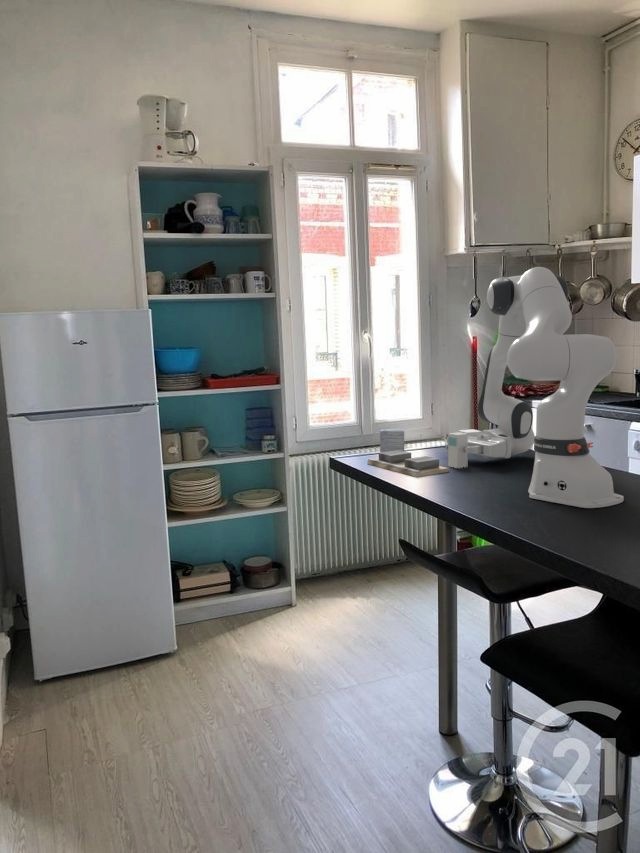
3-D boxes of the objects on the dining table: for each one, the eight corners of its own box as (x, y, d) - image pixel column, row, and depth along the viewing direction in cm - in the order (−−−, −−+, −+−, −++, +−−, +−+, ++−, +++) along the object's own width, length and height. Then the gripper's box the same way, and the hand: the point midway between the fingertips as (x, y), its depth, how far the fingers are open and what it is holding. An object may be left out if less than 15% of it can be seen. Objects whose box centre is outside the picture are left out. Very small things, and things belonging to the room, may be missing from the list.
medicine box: (404, 454, 230) (404, 428, 229) (404, 457, 226) (404, 430, 224) (380, 454, 231) (380, 429, 229) (380, 457, 226) (379, 431, 225)
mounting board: (448, 471, 201) (448, 459, 201) (416, 476, 195) (416, 464, 195) (398, 459, 222) (398, 448, 221) (367, 463, 216) (367, 452, 215)
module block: (467, 466, 208) (467, 433, 206) (456, 468, 206) (456, 435, 204) (458, 464, 211) (458, 432, 210) (447, 466, 209) (447, 433, 208)
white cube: (457, 447, 242) (457, 430, 241) (472, 446, 244) (472, 429, 243) (467, 450, 236) (467, 432, 235) (482, 448, 238) (482, 431, 237)
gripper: (466, 430, 223) (433, 434, 216) (514, 437, 205) (479, 442, 198) (466, 449, 223) (433, 454, 216) (514, 458, 206) (479, 464, 199)
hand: (455, 448), depth 207 cm, fingers open, 6 cm apart
